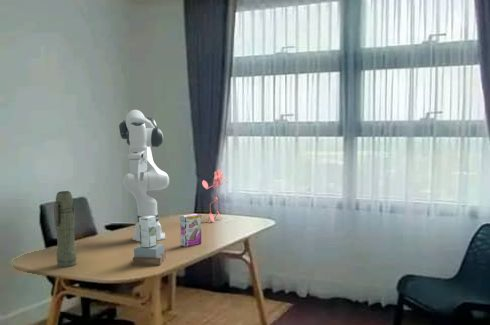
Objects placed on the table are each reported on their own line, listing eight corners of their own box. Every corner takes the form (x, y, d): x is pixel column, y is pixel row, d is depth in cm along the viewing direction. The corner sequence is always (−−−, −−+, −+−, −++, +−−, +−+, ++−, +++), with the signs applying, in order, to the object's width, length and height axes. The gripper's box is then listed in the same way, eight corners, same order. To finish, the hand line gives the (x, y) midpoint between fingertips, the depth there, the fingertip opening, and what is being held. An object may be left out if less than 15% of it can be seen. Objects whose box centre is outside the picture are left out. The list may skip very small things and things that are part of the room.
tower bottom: (139, 259, 271) (139, 251, 271) (165, 259, 271) (165, 251, 270) (132, 266, 258) (132, 258, 258) (160, 266, 258) (160, 258, 257)
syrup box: (148, 244, 267) (146, 215, 267) (157, 245, 264) (155, 215, 264) (140, 247, 262) (138, 217, 262) (149, 247, 260) (147, 217, 259)
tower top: (142, 251, 271) (142, 243, 271) (164, 252, 269) (163, 244, 269) (134, 257, 260) (133, 248, 260) (156, 257, 258) (156, 249, 258)
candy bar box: (186, 247, 293) (185, 217, 292) (180, 246, 297) (179, 215, 295) (202, 243, 301) (201, 214, 300) (196, 242, 304) (195, 213, 303)
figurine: (199, 223, 359) (199, 170, 356) (219, 217, 381) (219, 167, 378) (219, 226, 352) (219, 171, 349) (238, 219, 374) (239, 168, 371)
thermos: (82, 262, 266) (79, 190, 263) (67, 268, 254) (64, 193, 252) (66, 261, 268) (63, 189, 266) (51, 267, 257) (47, 193, 254)
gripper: (137, 153, 286) (138, 179, 287) (126, 155, 266) (127, 184, 267) (149, 153, 286) (150, 179, 287) (139, 155, 265) (140, 184, 266)
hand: (139, 181), depth 276 cm, fingers open, 8 cm apart
